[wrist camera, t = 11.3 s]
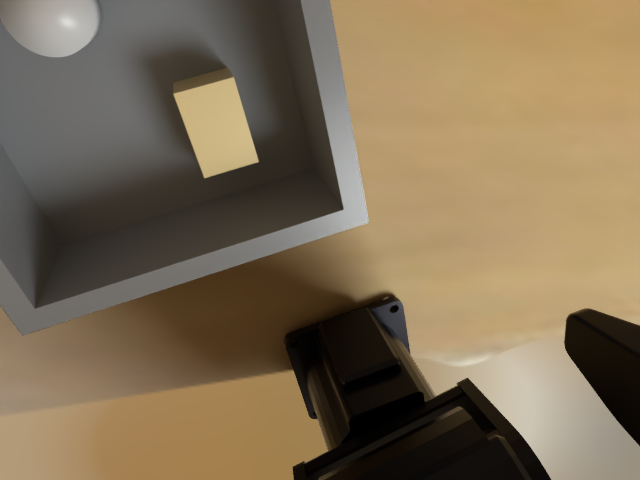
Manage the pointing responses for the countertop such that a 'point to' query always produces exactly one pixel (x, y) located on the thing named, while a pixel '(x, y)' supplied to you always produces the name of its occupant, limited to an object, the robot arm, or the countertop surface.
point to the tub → (164, 145)
